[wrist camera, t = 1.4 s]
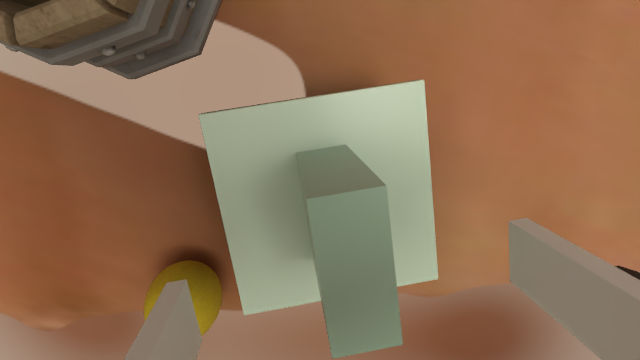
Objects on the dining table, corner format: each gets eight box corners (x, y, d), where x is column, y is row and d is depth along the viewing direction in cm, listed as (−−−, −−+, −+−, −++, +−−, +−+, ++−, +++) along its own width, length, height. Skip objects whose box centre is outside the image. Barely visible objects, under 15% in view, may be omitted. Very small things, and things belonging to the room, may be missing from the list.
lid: (204, 111, 24) (145, 140, 13) (412, 79, 24) (514, 82, 14) (246, 298, 27) (226, 439, 17) (427, 265, 28) (517, 379, 17)
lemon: (156, 249, 33) (118, 302, 25) (222, 241, 33) (205, 290, 26) (169, 307, 34) (137, 373, 27) (232, 298, 35) (219, 360, 27)
